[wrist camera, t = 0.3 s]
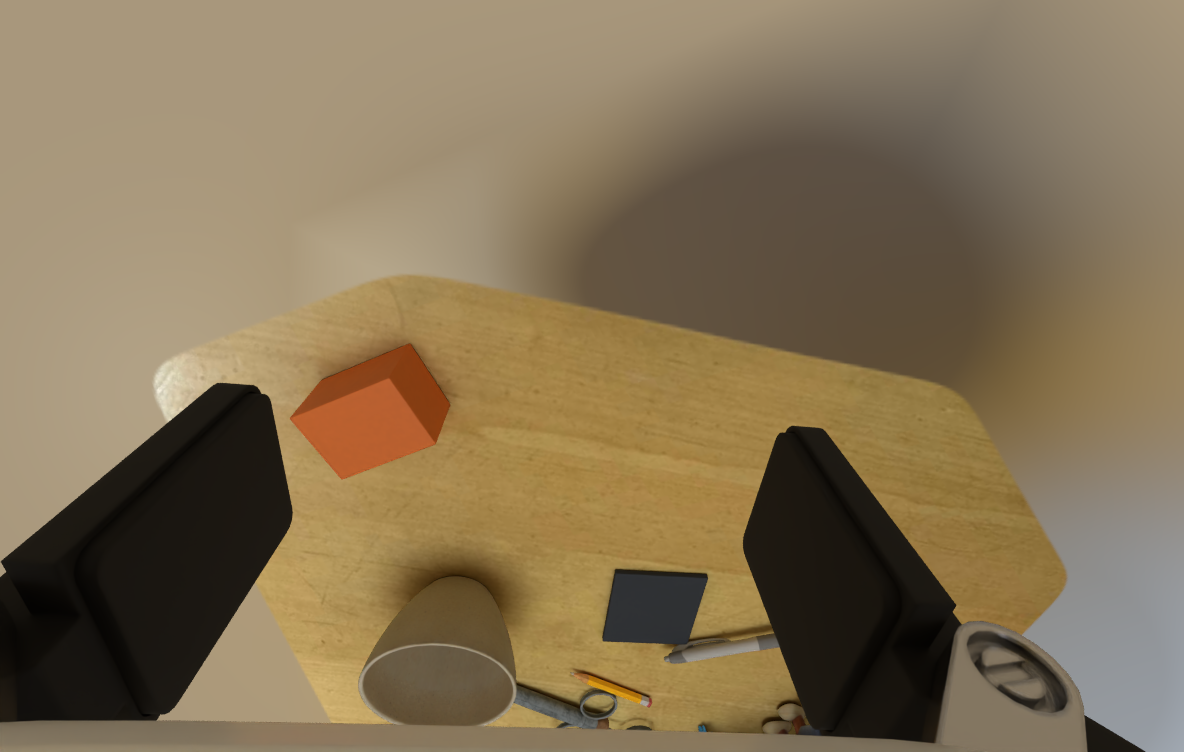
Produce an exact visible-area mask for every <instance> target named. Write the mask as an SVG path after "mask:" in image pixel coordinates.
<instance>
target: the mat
mask: <svg viewBox="0 0 1184 752" xmlns="http://www.w3.org/2000/svg"><path fill="white" fill-rule="evenodd" d="M707 580H708V576H707V574H692V573H672V572H652V571H633V570H615V574H614V579H613V585H612V590H611V595H610V600H609V606H608V611H607V616H606V621H605V627H604V632H603V637H602V638H603V641H608V642H633V643H659V644H687V643H688V640H689V637H690V634H691V630H692V627H693V624H694V621H695V618H696V615H697V612H698V608H699V605H700V602H701V599H702V596H703V593H704V589H705V586H706V583H707Z"/></svg>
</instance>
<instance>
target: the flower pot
mask: <svg viewBox="0 0 1184 752" xmlns="http://www.w3.org/2000/svg"><path fill="white" fill-rule="evenodd" d="M358 688H359V692H360V695H361V698H362V700H363V701H364V703H365V704H366V705H367V706H368V707H369V709H371V710H372V711H373V712H374V713H375V714H377V715H378V716H380V717H381V718H383V719H385V720H387V721H388V722H391V723H393V724H396V725H442V726H485V725H487V724H490V723H492V722H494V721H496V720H497V719H499V718H500V717H502V716H503V715H504V714H505V713H506V712H507V711H508V710H509V709H510V708H511V706H512V705H513V703H514V701H515V698H516V671H515V663H514V656H513V650H512V646H511V641H510V638H509V634H508V631H507V628H506V625H505V622H504V620H503V617H502V615H501V612H500V610H499V608H498V606H497V604H496V602H495V600H494V599H493V597H492V595H491V594H490V592H489V591H488V590H487V588H486V587H485V586H484V585H482V584H481V583H479V582H478V581H475V580H473V579H470V578H467V577H460V576H450V577H444V578H441V579H438V580H436V581H434V582H432V583H431V584H429V585H428V586H427V587H425V588H424V589H423V590H422V591H420V592H419V593H418V594H417V595H416V596H415V597H414V598H413V599H412V600H411V601H410V602H409V603H408V604H407V605H406V606H405V607H404V608H403V609H402V610H401V611H400V612H399V613H398V615H397V616H396V617H395V618H394V619H393V621H392V622H391V623H390V625H389V626H388V627H387V629H386V630H385V632H384V633H383V634H382V636H381V638H380V639H379V641H378V642H377V644H376V645H375V647H374V649H373V651H372V652H371V654H370V656H369V658H368V660H367V662H366V664H365V666H364V668H363V670H362V672H361V675H360V677H359V682H358Z"/></svg>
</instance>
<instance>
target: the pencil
mask: <svg viewBox="0 0 1184 752" xmlns="http://www.w3.org/2000/svg"><path fill="white" fill-rule="evenodd" d="M571 674H572V675H573V676H575V677H576V678H578V679H579V680H581V681H582V682H584V683H586V684H588V685H591V686H594V687H596V688H599V689H601V690H604V691H607V692H609V693H612V694H615V695H617V696H620V697H623V698H625V699H628V700H631V701H633V702H636V703H639V704H641V705H644V706H647V707H650V706H651V704H652V699H651V698H648V697H645V696H643V695H640V694H638V693H635V692H632V691H630V690H627V689H624V688H622V687H619V686H617V685H614V684H611V683H609V682H606V681H604V680H601V679H598V678H596V677H593V676H590V675H588V674H581V673H571Z"/></svg>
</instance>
